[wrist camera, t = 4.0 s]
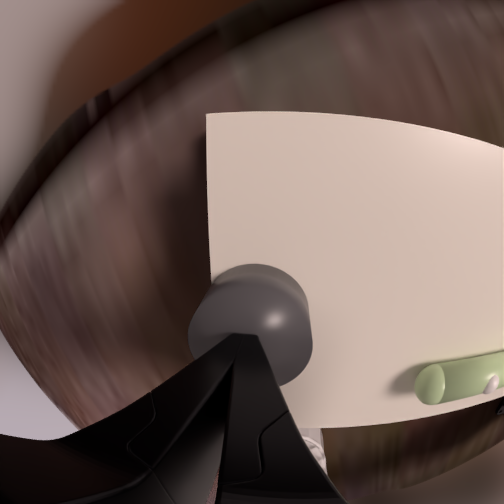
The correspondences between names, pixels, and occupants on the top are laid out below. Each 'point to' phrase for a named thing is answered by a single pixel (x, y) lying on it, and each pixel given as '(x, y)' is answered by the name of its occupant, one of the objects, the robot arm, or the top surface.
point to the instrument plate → (357, 262)
